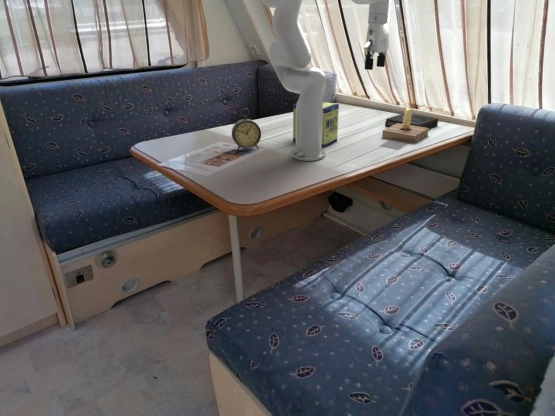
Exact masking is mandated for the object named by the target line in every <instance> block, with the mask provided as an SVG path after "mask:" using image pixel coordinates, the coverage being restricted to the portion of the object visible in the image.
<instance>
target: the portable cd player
mask: <svg viewBox="0 0 555 416" xmlns="http://www.w3.org/2000/svg"><path fill="white" fill-rule="evenodd" d="M403 117H404V113H401V114H398V115H394V116H392V117H388V118H386V119H385V121H384V122H385V123H384V127H386V128H389V127H391V126H393V125H395V124H397V123H399V124H403ZM438 123H439V118H437V117H432V116H428V115H427V116H426V115H421V114H416V113H412V115H411V122H410V125H412V126H418V127H425V128H429V130H431V129H433V128H436V127H438Z"/></svg>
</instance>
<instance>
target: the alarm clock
mask: <svg viewBox="0 0 555 416" xmlns="http://www.w3.org/2000/svg"><path fill="white" fill-rule="evenodd" d="M243 110H247V115H243V114H242V111H243ZM239 113H240V116H242V117H243V119H239V120H238V121H236V122H235V123H234V125H233V126H232V129H231V137H232V138H231V139H232V140H233V141H234V142H235V143H234V144H235V145H237V148H236V149H235V151H236V152H238V151H239V150H240V148H241V149H244V150H245V149H246V150H247V149H252V148H254V147H255V148H257V149H258V150H259V149H260V147H259V146H258V144H259V142H260V140H261V139H262V138H261V137H262V131H261V128H260V126H259V124H258V123H257V122H255V121H254V120H252V119H249V118H247V117H248V116H249V115H250V111H249V109H248V108H246V107H245V108H242V109H241V110H240V111H239Z"/></svg>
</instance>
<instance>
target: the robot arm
mask: <svg viewBox="0 0 555 416" xmlns="http://www.w3.org/2000/svg"><path fill="white" fill-rule="evenodd" d="M260 1H261V3H262V4H263V5H264V6H266V7H267V8H270V9H271V8H272V9H274V10H273V11H274V12H273V16H272V22H271V25H272V26H271V27H272V32H273V34H274V37H275V39H274V40H273V41H272V42H271V44H270V45H269V48H268V58H269V61H270V63H271V65H272V67H273V70H274V71H275V73H276V76H277V78H278V79H279V82H280V83H281V85H282V86H283V88H284V89H285V90H286V91H288V92H290V93H295V94H298V95H299V97H298V100H297V102H296V104H297V105H296V142H295V145H294V149H293V150H291V151H289V152H288V156H289V157H292V158H294V159H295V160H298V161H303V162H314V161H320V160H322V159H324V158H326V151H325V150H323V149H322V148H321V146H322V112H323V102H324V96H325V92H326V88H327V76H326V74H325V72H324V71H323V70H321V69H320V68H317V67H316V66H315V67H314V66H309V65H310V64H311V61H312V52H311V48H310V47H309V46H310V45H309V44H308V41H307V39H306V37H305V35H304V31H303V29H302V26H301V23H300V21H299V17H300V9H301V6H302V3H303V0H260ZM351 1H352V2H353V3H354V4H357V5H368V17H367V19H368V20H367V24H368V25H367V26H368V27H367V31H366V39H365V40H366V41H365V45H364V46H363V51H364V70H366V71H367V70H368V71H372V70H373V69H374V56H375V53H377V54H378V55H377V57H376V67H377V68H378V67H379V68H385V65H386V56H387V51H388V49H389V43H390V27H389V26H390V25H389V24H390V11H391V6H392V5H391V3H392V0H351Z"/></svg>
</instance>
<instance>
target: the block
mask: <svg viewBox="0 0 555 416" xmlns="http://www.w3.org/2000/svg"><path fill="white" fill-rule="evenodd" d="M402 126H403V124H399V123H397V124H395V125H393V126H391V127H386V128H384V129H383V130H382V135H381V138H382V139H385V140H392V141H398V142H403V143H409V144H414V145H415V144H416V143H418V142H420V141H421V140H423V139H425V138H426V137H428V136H429V131H430V129H429V128H425V127H418V126H412V125H410V130H409V131H405V130H402Z"/></svg>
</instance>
